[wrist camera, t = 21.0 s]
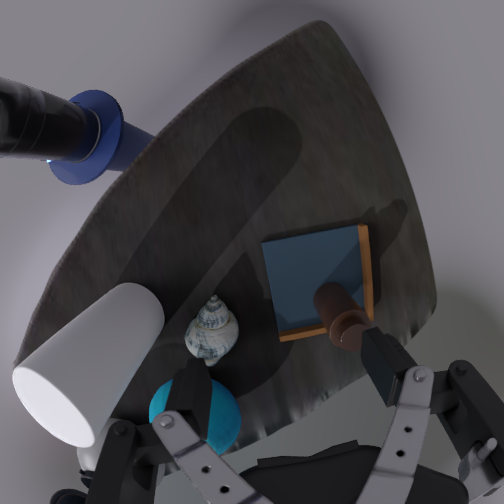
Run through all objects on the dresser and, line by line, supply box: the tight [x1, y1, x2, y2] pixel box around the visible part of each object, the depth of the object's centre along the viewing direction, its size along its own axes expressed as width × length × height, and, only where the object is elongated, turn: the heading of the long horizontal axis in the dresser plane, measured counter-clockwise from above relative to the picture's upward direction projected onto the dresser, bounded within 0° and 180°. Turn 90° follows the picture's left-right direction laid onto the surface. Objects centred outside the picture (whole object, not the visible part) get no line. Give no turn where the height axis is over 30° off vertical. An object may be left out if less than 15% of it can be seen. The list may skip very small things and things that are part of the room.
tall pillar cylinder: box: [12, 283, 164, 448], centre depth 29 cm, size 11×11×25 cm
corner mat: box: [261, 223, 374, 342], centre depth 39 cm, size 15×15×2 cm
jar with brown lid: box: [313, 282, 370, 351], centre depth 33 cm, size 5×5×12 cm
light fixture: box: [50, 418, 165, 504], centre depth 32 cm, size 20×23×33 cm
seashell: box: [184, 295, 239, 367], centre depth 39 cm, size 6×8×12 cm
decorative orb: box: [149, 379, 241, 455], centre depth 37 cm, size 15×15×15 cm
